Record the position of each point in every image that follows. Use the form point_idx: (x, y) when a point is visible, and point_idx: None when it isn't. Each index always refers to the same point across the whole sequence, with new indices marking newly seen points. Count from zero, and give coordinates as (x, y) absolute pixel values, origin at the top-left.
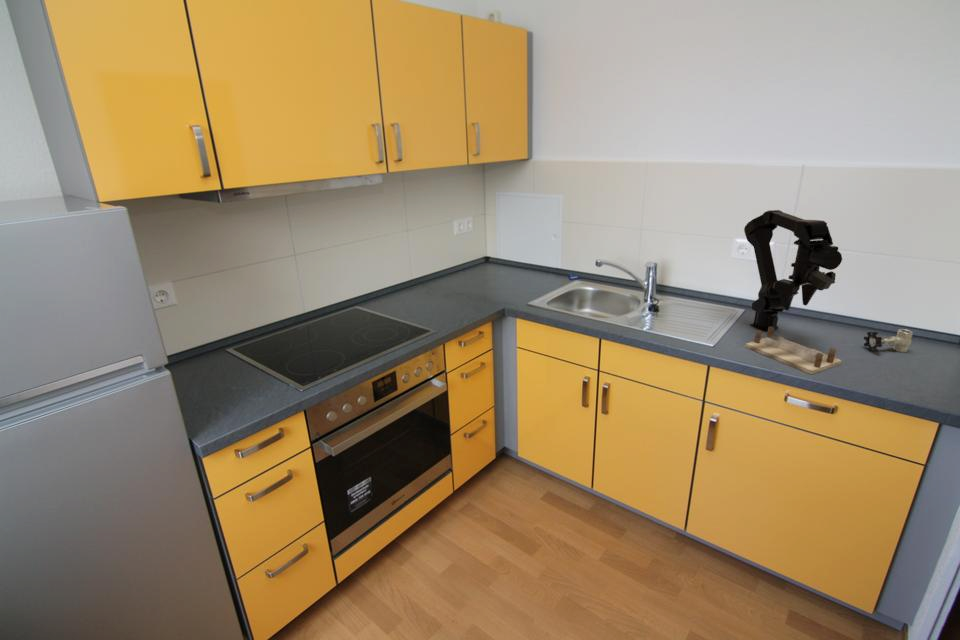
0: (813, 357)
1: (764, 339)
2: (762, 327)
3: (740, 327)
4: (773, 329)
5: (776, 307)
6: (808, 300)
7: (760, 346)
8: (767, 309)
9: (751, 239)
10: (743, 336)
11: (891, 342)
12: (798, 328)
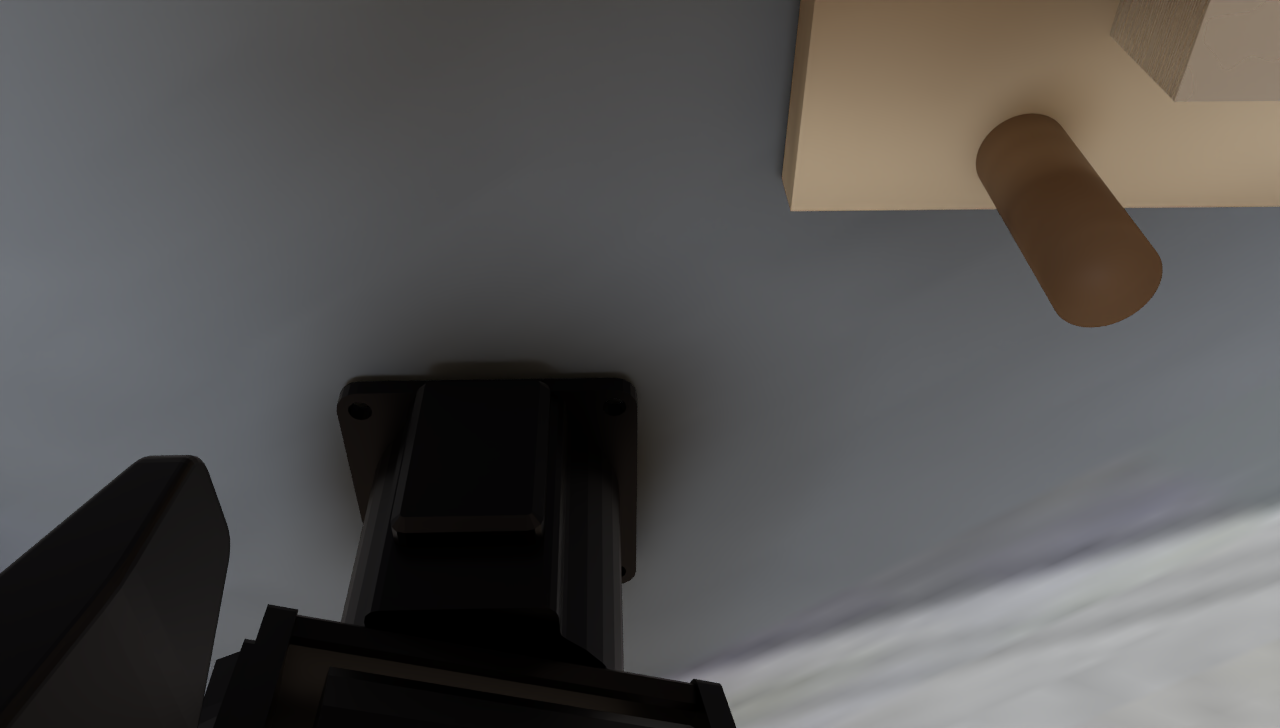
0: None
1: (1127, 164)
2: (606, 462)
3: (791, 572)
4: (1106, 220)
5: (537, 719)
6: (70, 631)
7: None
8: (684, 725)
9: None
10: (1070, 402)
11: None
12: (13, 238)
